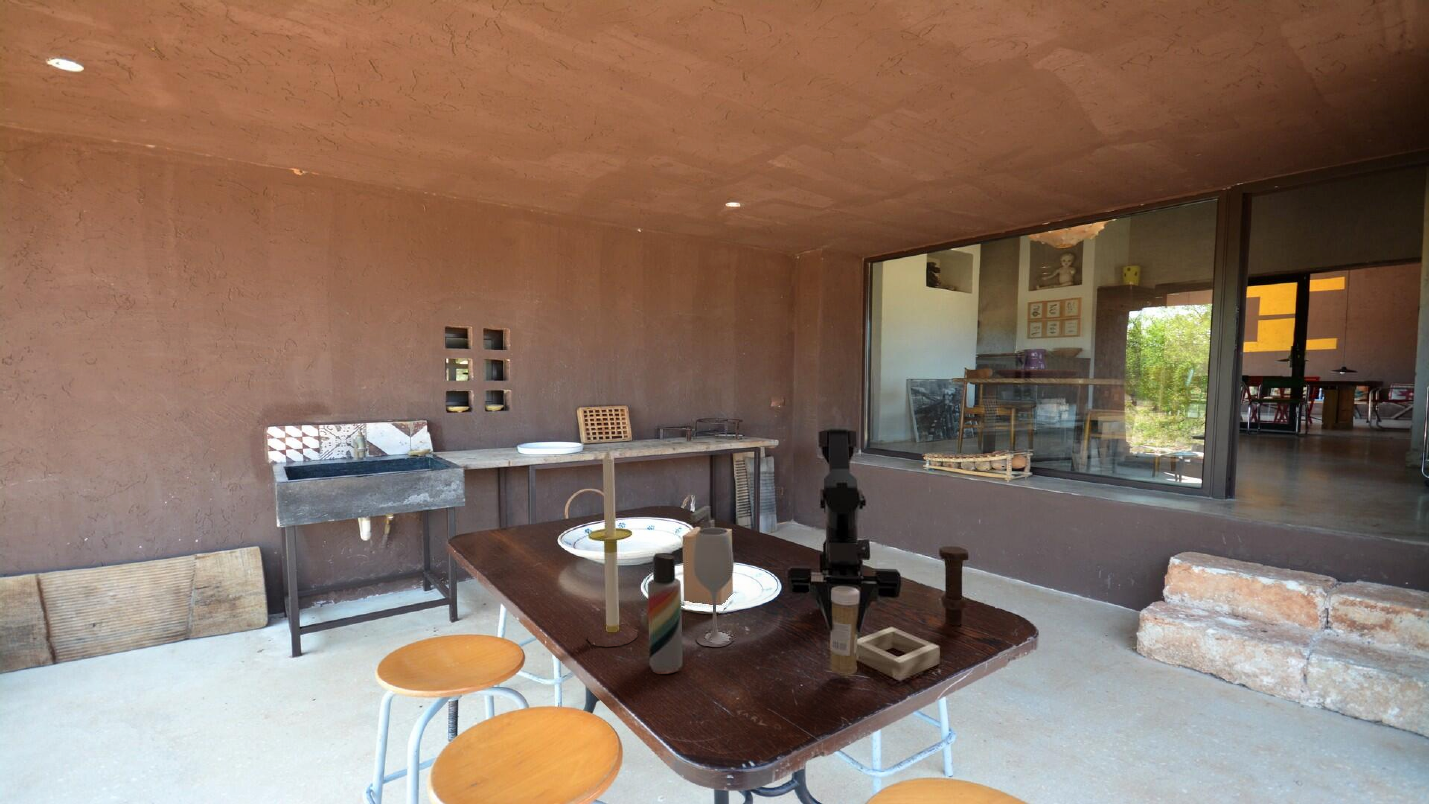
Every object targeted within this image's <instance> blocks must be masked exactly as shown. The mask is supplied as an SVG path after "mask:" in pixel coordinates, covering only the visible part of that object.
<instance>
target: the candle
mask: <svg viewBox="0 0 1429 804" xmlns="http://www.w3.org/2000/svg"><path fill="white" fill-rule="evenodd" d="M602 474H603V475H602V479H603V483H602V484H603V509H604V510H603V511H604V512H603V514H604V515H603V517H604V518H603V519H604V521H603V522H604V528H601V529H596V530H593V531H590V532H589V533H588V535H587V536H588V539H590V540H592V541H595V542H596V541H597V542H603V552H604V553H603V554H604V556H603V557H604V560H603V561H604V594H605V626H606V631H607V632H617V631H618V630H619V625H620V613H619V612H620V611H619V609H620V608H619V607H620V606H619V605H620V604H619V575H618V574H619V572H618V568H619V567H618V564H619V563H618V541H621V540H625V539H628V538H630V537H631V536H632V535H633V532H632V530H631V529H628V528H627V529H626V528H622V527H619V528H618V527H616V526H617V525H616V494H615V492H616V491H615V490H616V489H615V485H616V484H615V459H614V457H613V456H612V454H611V451H610V448H606V453H605V455H604V457H603V458H602Z"/></svg>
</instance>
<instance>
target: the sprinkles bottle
mask: <svg viewBox="0 0 1429 804" xmlns="http://www.w3.org/2000/svg"><path fill="white" fill-rule="evenodd" d="M831 600H832V610H831V619H832V631H830V637H829V639H830V642H829V643H830V644H829V645H830V646H829V648H830V656H829V660H830V661H829V669H830V671H832V672H833V673H836V674H839V675H842V676H849V675H854V674H855V673H856V672H857V669H858V665H857V660H856V655H857V639H858V628H857V622H858V611H859V605H858V603H859V601H860V590H859V589H858V590H857V589H856V588H853V587H849V586H836V587H833V588H832V590H831Z"/></svg>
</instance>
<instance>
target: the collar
mask: <svg viewBox="0 0 1429 804" xmlns="http://www.w3.org/2000/svg"><path fill="white" fill-rule="evenodd" d="M892 648H893V649H894V650H895V649H896V650H897V651H900V652H902V653H904V654H903V655H901V656H896V655H894V654H893V653H890V652H888V651H887V650H889V649H892ZM940 648H941V647H940V645H938V644H935V643H933V642H930V641H927V640H925V639H922V638H921V637H917V636H914V635H913V634H911V633H908V632H905V631H903V630H900V629H898V628H896V627H893V626H890V627H887V628H884V629H881V630H880V631H876V632H873V633H870V634H868V635H865V636H862V637H860V638H857V655H856V661H858V662H860V663H863V664H864V665H867V666H869V667H870V668H873V669H875V670H877V671H878V672H881V673H883V674H885V675H886V676H888V677H891V678H893V679H895V680H897V681H899V682H900V681H903V680H906V679H907V678H910V677H912V676H914V675H917V674H919V673H922V672H923V671H926V670H927V669H930V668H932V667H935V666H937V665H939V664H940V660H941V658H940V657H941V655H940V652H941V649H940Z"/></svg>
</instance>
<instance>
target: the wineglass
mask: <svg viewBox="0 0 1429 804" xmlns="http://www.w3.org/2000/svg"><path fill="white" fill-rule="evenodd" d="M727 529H728V528H725V527H724V528H723V527H715V528H704V529H701V530H699V531H698V532H697V537H696V543H695V552H694V573H695V575H696V578H697V580H698V581H699V582H700V583H701V584H702V585H703V586H704V587H705V588H706V589H708V590H709V591H710V592H711V594H712V602H713V613H712V630H711V633H708V634H706V636H705V638H706V639H707V641H710V642H712V643H715V644H722V643H723V642H724V641H730V640H729V638H731V637H730V636H728V635H729V634H730V633H729V634H726V633H722V632H718V631H719V630H718V626H717V625H718V623H717V622H718V621H717V614H716V596H717V593H718V591H719V590H720V589H722V588H723V587H724V586H725V585H726V584H727V583H728V581H729V580H730V579H731V576H732V574H733V573H734V566H735V565H734V563H735V562H734V553H733V544H732V545H731V540H730V535H729V531H728V530H727ZM724 643H725V642H724Z"/></svg>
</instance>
